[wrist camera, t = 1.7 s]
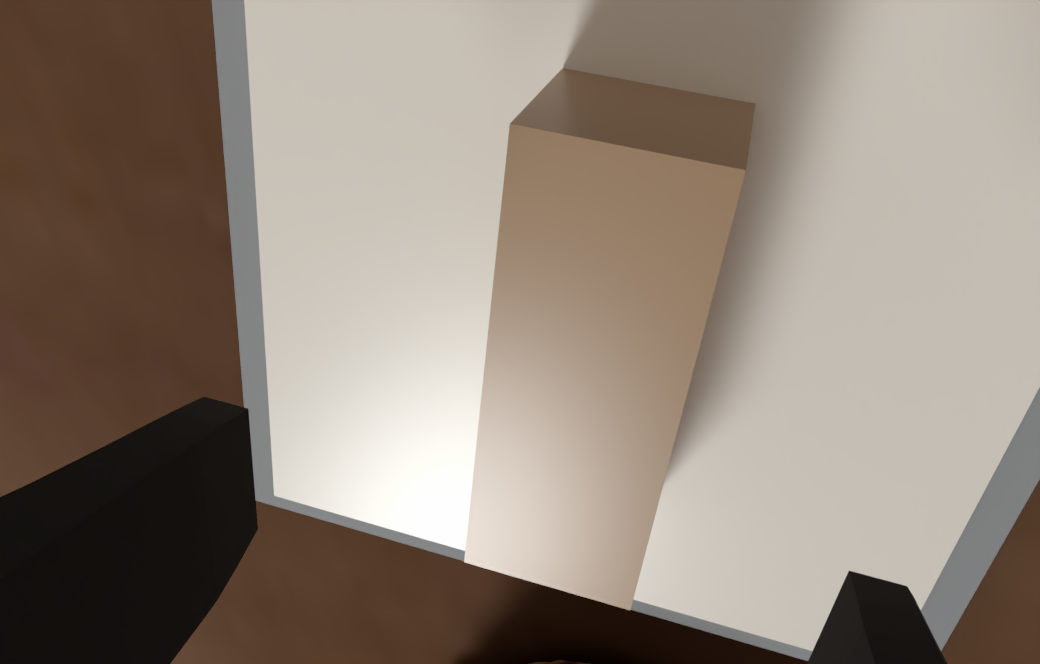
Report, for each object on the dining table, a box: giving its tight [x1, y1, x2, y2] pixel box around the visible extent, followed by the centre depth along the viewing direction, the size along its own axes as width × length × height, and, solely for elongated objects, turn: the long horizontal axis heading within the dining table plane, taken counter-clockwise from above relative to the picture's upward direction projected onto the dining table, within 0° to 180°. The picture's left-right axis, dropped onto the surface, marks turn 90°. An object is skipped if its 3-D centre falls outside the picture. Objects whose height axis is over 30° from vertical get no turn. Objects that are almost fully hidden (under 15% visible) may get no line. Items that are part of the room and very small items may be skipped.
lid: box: [244, 0, 1040, 651], centre depth 14 cm, size 14×14×4 cm
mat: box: [212, 0, 1040, 661], centre depth 16 cm, size 16×16×1 cm
